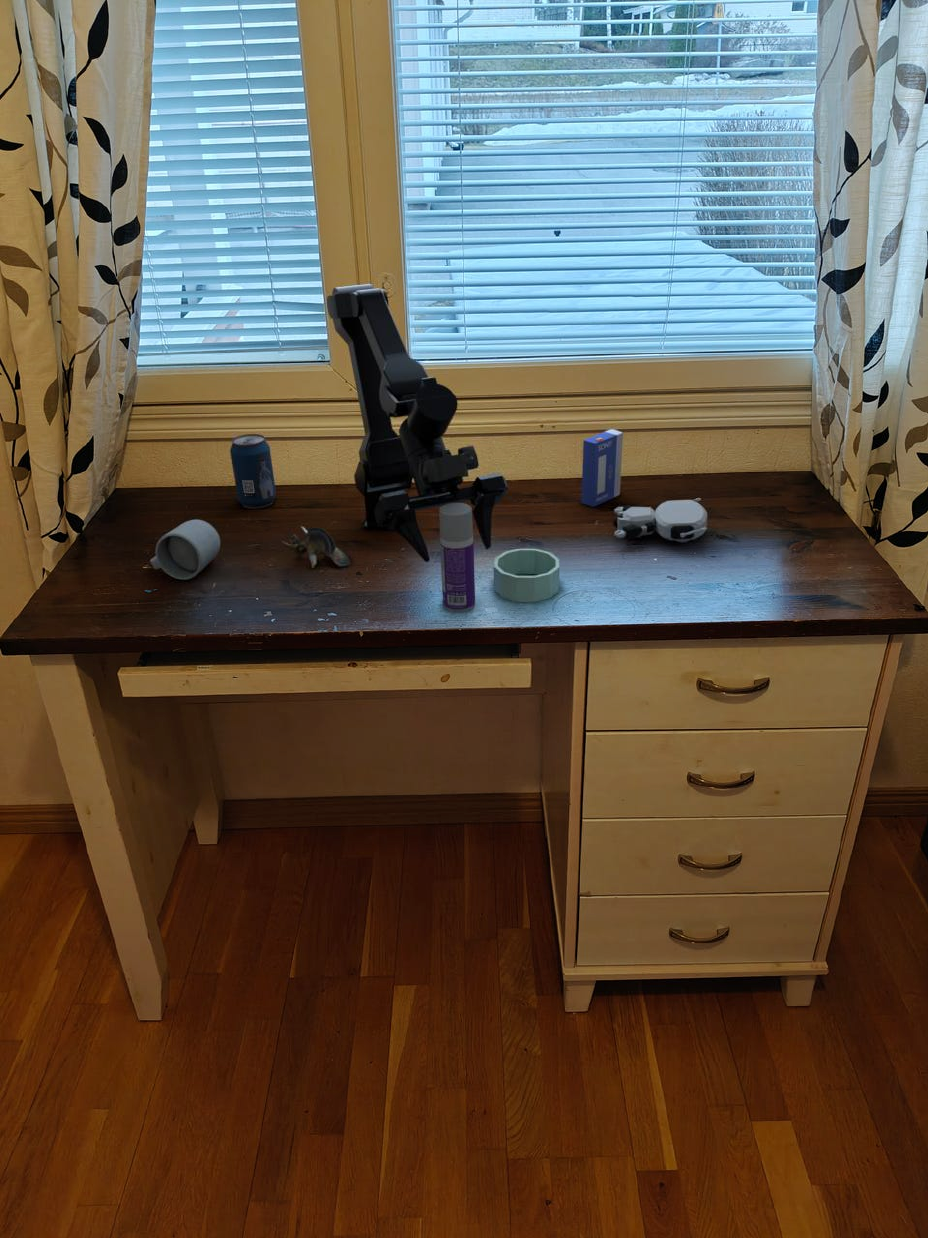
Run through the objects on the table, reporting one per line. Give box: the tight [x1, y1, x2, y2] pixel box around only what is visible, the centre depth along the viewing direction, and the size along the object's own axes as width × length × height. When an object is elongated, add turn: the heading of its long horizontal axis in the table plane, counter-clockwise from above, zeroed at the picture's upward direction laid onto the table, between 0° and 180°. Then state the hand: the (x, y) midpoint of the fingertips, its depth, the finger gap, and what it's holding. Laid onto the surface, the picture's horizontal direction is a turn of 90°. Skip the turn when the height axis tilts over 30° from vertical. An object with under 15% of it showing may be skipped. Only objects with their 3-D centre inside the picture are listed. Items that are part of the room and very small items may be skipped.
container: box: [438, 502, 476, 614], centre depth 134 cm, size 5×5×15 cm
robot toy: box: [612, 497, 708, 543], centre depth 155 cm, size 12×4×15 cm
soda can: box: [229, 433, 277, 509], centre depth 170 cm, size 7×7×12 cm
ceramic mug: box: [149, 519, 222, 581], centre depth 149 cm, size 11×8×8 cm
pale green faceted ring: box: [493, 548, 561, 603], centre depth 141 cm, size 10×10×4 cm
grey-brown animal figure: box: [281, 525, 351, 569], centre depth 150 cm, size 8×7×9 cm
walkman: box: [581, 428, 624, 508], centre depth 167 cm, size 8×3×12 cm, turn 134°
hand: (458, 554), depth 133 cm, fingers open, 9 cm apart
